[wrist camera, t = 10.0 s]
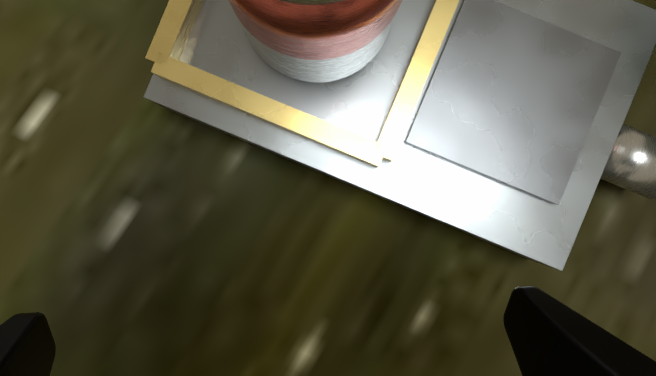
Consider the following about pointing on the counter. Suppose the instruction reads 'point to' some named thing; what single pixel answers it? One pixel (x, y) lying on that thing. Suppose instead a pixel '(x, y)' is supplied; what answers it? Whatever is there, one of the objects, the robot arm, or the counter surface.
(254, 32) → the spout can
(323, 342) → the counter surface
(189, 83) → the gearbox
